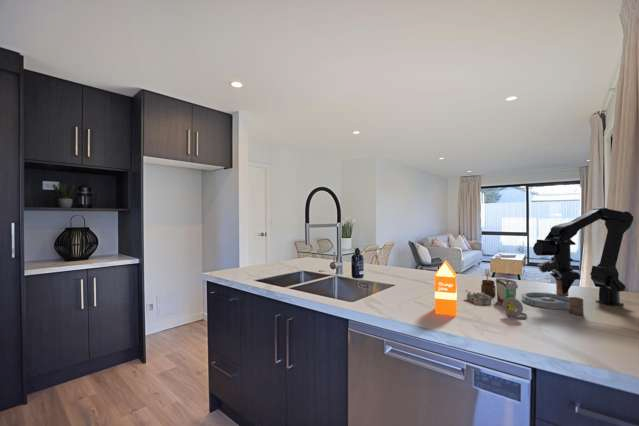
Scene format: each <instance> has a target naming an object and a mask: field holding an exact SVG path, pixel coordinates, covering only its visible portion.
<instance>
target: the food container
mask: <svg viewBox="0 0 639 426" xmlns="http://www.w3.org/2000/svg"><path fill="white" fill-rule="evenodd" d="M495 287H496V299H497V300H496V302H498V303H499V304H500V305H502V304H503V301H504V300H505V299H506V298H509V297H512V296H511V295H510V294H512V293H513V295H515V293H516V295H515V296H513V298H516V296H517V289H519V284H518V283H517V281H515V280H513V279H508V278H495ZM509 291H513V292H509ZM508 292H509V293H508ZM514 292H515V293H514ZM516 299H517V298H516ZM507 306H508V304H507ZM508 308H510V307H508Z"/></svg>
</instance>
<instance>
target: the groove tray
mask: <svg viewBox="0 0 639 426" xmlns="http://www.w3.org/2000/svg"><path fill="white" fill-rule="evenodd" d="M570 297H571V296H558V295H557V294H556V293H550V292H542V291H541V292H539V291H530V292H524V293H522V294H521V299H522V300H521V301H522V302H523V303H525V304H528V305H530V306H535V307H538V308H544V309H552V310H570Z"/></svg>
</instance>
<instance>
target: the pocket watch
mask: <svg viewBox="0 0 639 426" xmlns="http://www.w3.org/2000/svg"><path fill="white" fill-rule="evenodd" d="M509 292H513V291H509ZM509 292H508V293H509ZM514 293H515V292H514ZM510 295H511V296H512V297H509V298H506V299H505V300H504V301H503V304H502V309H503V311H504V312H505V313H506V315H507V316H508V317H511V318H514V319H526V318H528V314H527V313H524V312H523V311H524V306H523V304H522V302H521V301H520V300H519V299H517V298H513V296H515V295H516V296H517V292H516V293H515V295H513V293H512V294H510ZM507 304H508V306H507ZM508 307H510V308H508Z"/></svg>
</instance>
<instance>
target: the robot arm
mask: <svg viewBox="0 0 639 426" xmlns="http://www.w3.org/2000/svg"><path fill="white" fill-rule="evenodd" d="M599 220H601V221H604V225H605V229H606V230H607V233H606V237H605V241H604V245H603V249H602V253H601V256H600V261H599V263H598V264H597V265H592V266H591V271H590V273H589V275H590V280H592V282H593V285H594V287H595V288H599V289H598V290H599V291H598V300H597V299H596V300H595V302H596V303H600V304H604V305H608V306H611V307H612V306H624V303H623V302H620V299H621V298H620V296H621V295H620V292H625V290H626V285H625V284H624V283H623V282H622V281H621V280H620V279H619V276H620V273H619V271H618V268H617V263H618V259H619V253H620V249H621V246H622V242H623V237H624V234H625V233H626V232H627V231H628V230H630V228H631V226H632V224H633V222H634V215H632V213H631V212H629V211H621V210H615V209H611V208H607V207H594V208H592V209H591V210H589V211H587V212H586V213H583V214H582V215H580V216H578V217H576V218H574V219H572V220H570V221H568V222H564V223H563V222H562V223H560V224H557V225H553V226H552V227H551V228H550V231H549V232H548V234H547V236H546V237H545V238H544V239H536V242H535V243H534V245H533V247H532V249H533V253H534V254H535V255H536V256H541V257H543V256H544V257H545V256H546V257H549V256H551V258H550V260H547V261H543V262H541V263H537V264H536V265H537V267H538V269H539V271H540V272H542V274H543V273H547V272H548V273H549V275H550V276H552V277H553V278H554V280H555V281H556V280H560V281H561V286H562V291H563V293H564V294H566V293H567V292H568V293H569V290H570V288H571V287H572V285H573V284H574V282H575V281H577V280H581V274H580V273H579V272H577V271H575V270H573V268H572V264H571V262H574V261H573V258H571V246H575V245H577V243H576V242H574V241H573V240H572V238H573V237H575V236H576V235H577V234H578V232H579V231H580V230H582V229H584V228H585V227H587V226H589V225H591V224H593V223H595V222H597V221H599Z"/></svg>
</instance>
